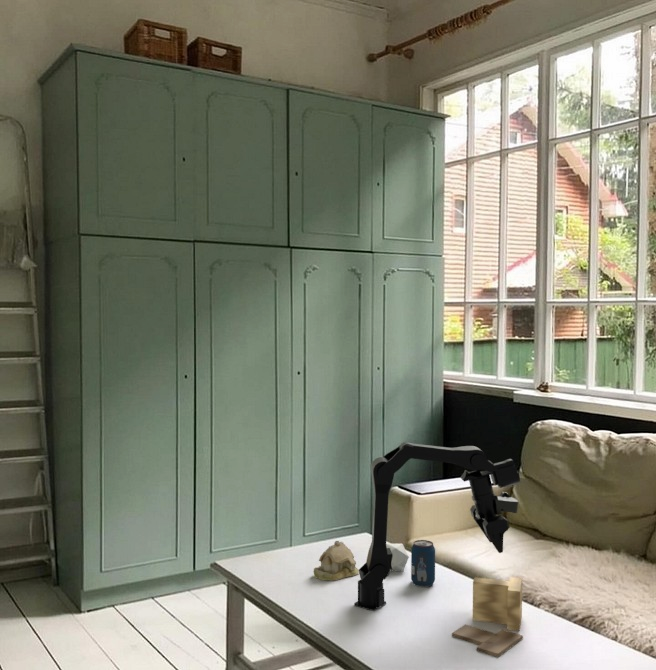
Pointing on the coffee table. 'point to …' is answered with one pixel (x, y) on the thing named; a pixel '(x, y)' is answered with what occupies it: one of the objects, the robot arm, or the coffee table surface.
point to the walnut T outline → (488, 639)
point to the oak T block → (498, 601)
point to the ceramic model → (336, 563)
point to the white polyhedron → (398, 557)
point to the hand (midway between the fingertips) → (496, 547)
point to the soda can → (423, 563)
